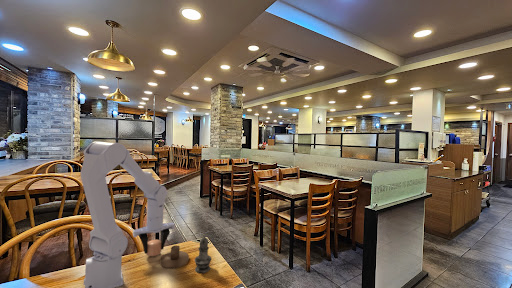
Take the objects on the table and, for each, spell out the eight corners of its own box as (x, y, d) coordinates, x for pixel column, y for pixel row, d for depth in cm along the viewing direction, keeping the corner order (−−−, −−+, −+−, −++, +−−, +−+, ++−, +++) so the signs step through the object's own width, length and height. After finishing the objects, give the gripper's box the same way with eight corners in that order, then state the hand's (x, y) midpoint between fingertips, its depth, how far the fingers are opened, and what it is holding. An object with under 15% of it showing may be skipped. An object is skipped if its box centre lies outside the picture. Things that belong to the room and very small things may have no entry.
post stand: (163, 271, 75) (164, 257, 75) (157, 257, 84) (158, 244, 83) (192, 263, 81) (193, 250, 81) (184, 251, 89) (184, 239, 89)
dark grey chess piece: (213, 265, 81) (214, 233, 80) (208, 274, 75) (209, 240, 75) (197, 263, 81) (199, 231, 81) (191, 272, 76) (193, 238, 75)
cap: (144, 251, 85) (145, 241, 85) (159, 247, 89) (159, 238, 89) (147, 257, 81) (148, 247, 81) (162, 253, 85) (163, 243, 84)
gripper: (135, 223, 77) (134, 260, 77) (177, 215, 86) (176, 249, 86) (132, 216, 82) (131, 252, 83) (172, 210, 91) (170, 242, 92)
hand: (153, 250), depth 85 cm, fingers closed on cap, 5 cm apart
